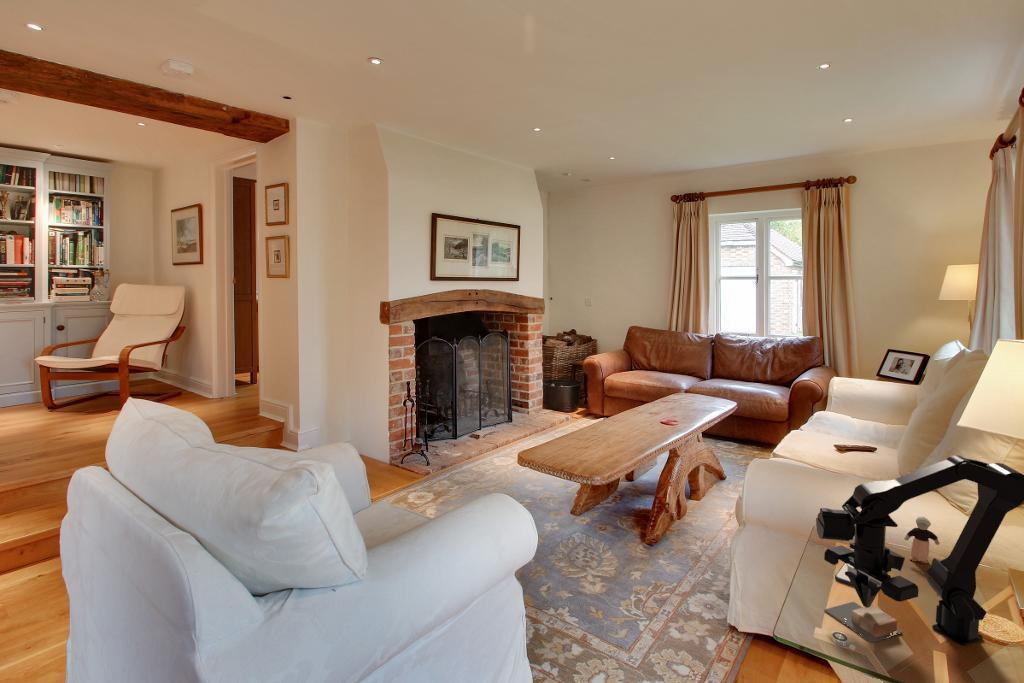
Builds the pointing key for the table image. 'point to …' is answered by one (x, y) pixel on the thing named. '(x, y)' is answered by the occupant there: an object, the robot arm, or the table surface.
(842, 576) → the phone case
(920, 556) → the grandmother figurine
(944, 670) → the table surface
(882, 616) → the birch block
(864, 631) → the felt mat
